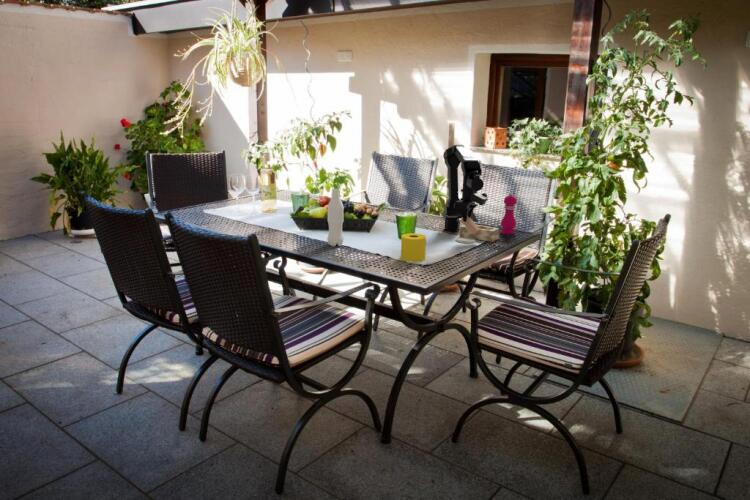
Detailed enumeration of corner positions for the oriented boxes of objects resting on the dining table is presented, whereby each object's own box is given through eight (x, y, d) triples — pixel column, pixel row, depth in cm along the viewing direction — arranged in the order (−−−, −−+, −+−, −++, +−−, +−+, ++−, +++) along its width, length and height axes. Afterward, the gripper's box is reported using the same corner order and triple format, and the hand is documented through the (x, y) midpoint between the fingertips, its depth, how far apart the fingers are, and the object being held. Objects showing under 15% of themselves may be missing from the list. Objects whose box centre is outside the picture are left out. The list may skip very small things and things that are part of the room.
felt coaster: (452, 241, 281) (452, 240, 280) (460, 237, 288) (460, 236, 288) (471, 244, 276) (471, 243, 276) (478, 240, 284) (478, 239, 283)
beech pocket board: (459, 236, 290) (460, 226, 288) (465, 233, 296) (466, 223, 294) (492, 241, 281) (493, 231, 280) (498, 238, 288) (499, 228, 286)
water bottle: (346, 244, 273) (346, 188, 266) (339, 247, 266) (340, 191, 259) (331, 242, 275) (331, 187, 268) (324, 246, 268) (324, 189, 262)
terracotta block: (460, 220, 279) (463, 216, 278) (463, 218, 282) (467, 215, 281) (473, 234, 277) (477, 230, 276) (477, 232, 281) (480, 229, 279)
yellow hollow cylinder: (407, 262, 246) (408, 240, 244) (396, 256, 255) (397, 234, 253) (429, 260, 250) (430, 238, 248) (418, 254, 259) (418, 232, 256)
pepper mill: (515, 235, 295) (518, 194, 289) (500, 234, 296) (503, 193, 291) (515, 231, 301) (518, 191, 296) (500, 230, 303) (503, 190, 297)
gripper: (478, 192, 264) (475, 227, 268) (493, 186, 279) (490, 219, 283) (454, 189, 269) (452, 223, 273) (470, 183, 285) (468, 216, 289)
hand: (466, 220), depth 280 cm, fingers closed on terracotta block, 4 cm apart
